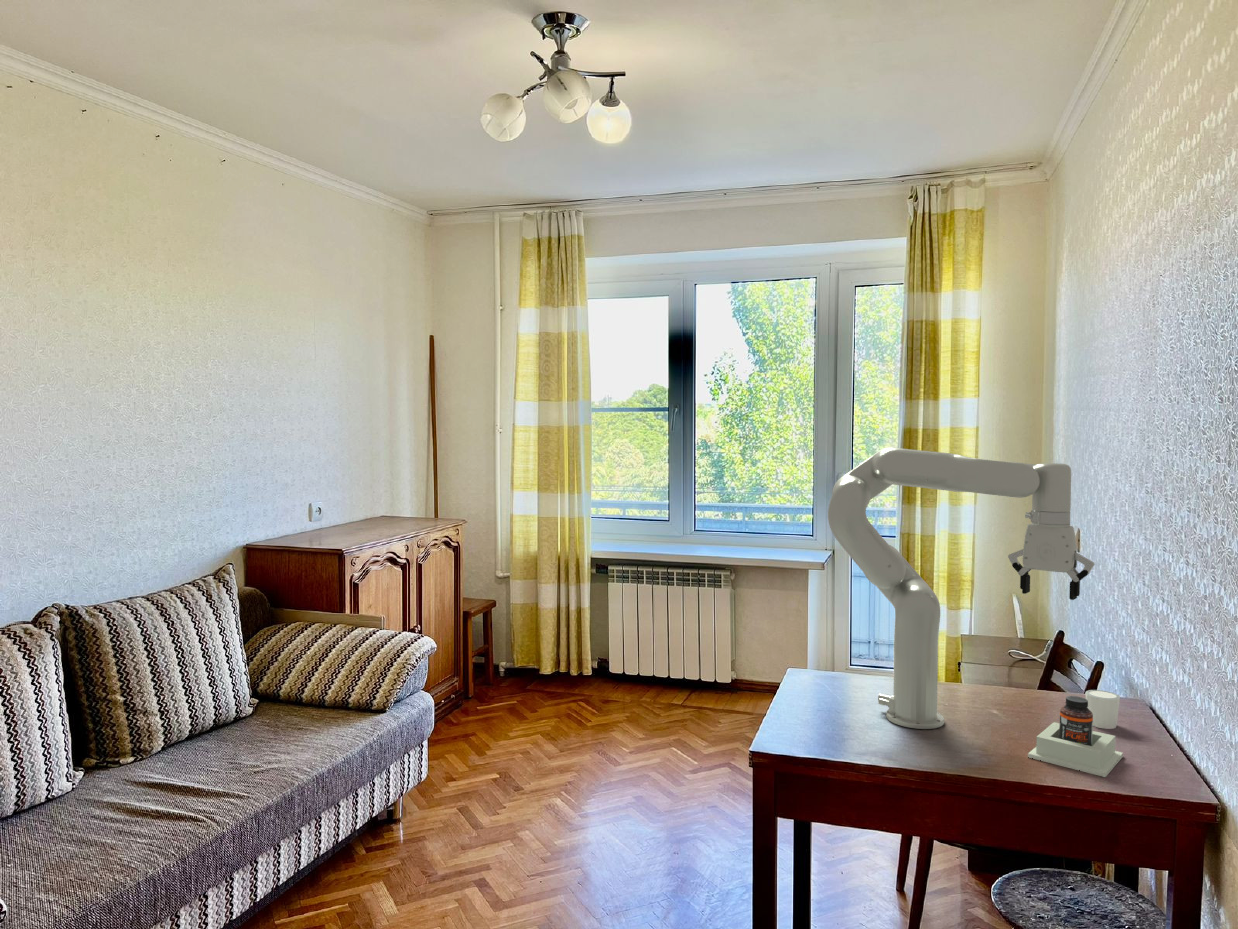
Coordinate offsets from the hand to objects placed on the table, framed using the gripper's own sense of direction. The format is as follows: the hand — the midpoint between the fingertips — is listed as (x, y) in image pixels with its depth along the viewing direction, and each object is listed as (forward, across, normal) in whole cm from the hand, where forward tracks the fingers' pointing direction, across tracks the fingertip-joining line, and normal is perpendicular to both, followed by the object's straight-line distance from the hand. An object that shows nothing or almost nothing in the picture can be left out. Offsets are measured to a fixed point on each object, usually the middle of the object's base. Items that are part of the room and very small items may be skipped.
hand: (1049, 595), depth 181 cm
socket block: (+30, +9, -12) cm, 34 cm away
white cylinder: (+31, +8, +13) cm, 34 cm away
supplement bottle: (+30, +9, -12) cm, 33 cm away
